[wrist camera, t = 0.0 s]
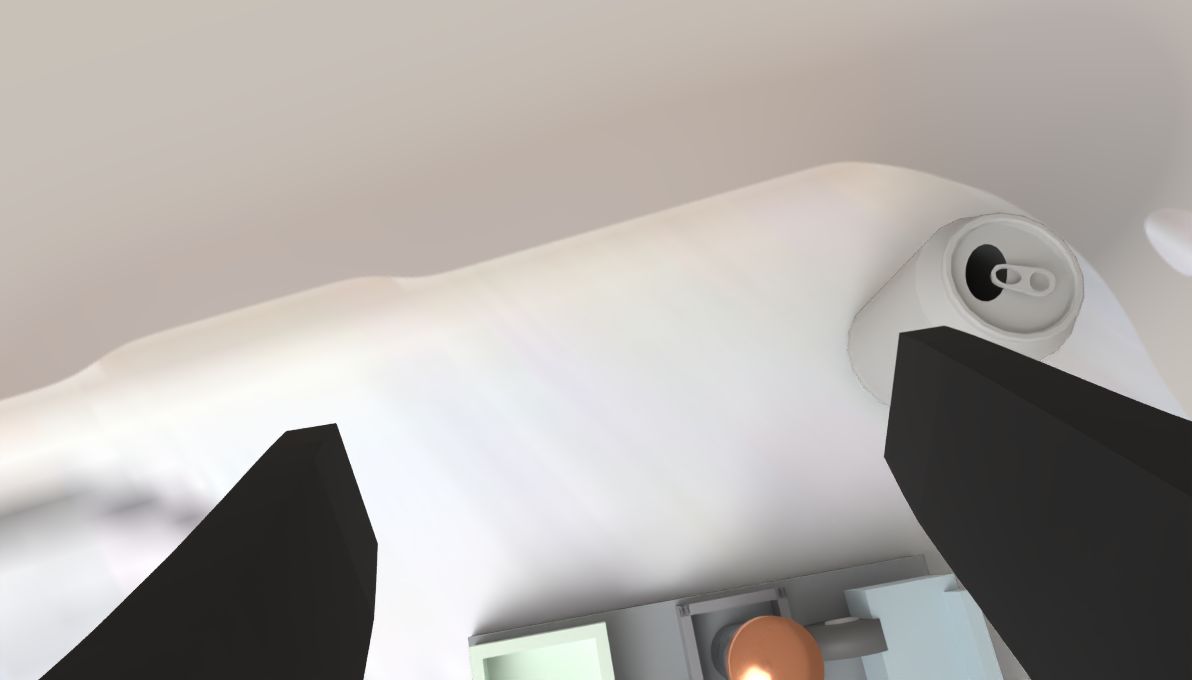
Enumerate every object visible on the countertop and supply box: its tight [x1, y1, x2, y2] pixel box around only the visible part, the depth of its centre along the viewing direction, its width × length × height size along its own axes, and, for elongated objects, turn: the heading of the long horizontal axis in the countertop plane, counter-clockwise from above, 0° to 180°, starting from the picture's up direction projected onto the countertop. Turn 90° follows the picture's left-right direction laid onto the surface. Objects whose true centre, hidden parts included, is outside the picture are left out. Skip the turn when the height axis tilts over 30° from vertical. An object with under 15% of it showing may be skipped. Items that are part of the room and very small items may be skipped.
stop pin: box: [711, 616, 824, 680], centre depth 34 cm, size 4×4×8 cm
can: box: [848, 213, 1084, 406], centre depth 39 cm, size 8×8×12 cm
